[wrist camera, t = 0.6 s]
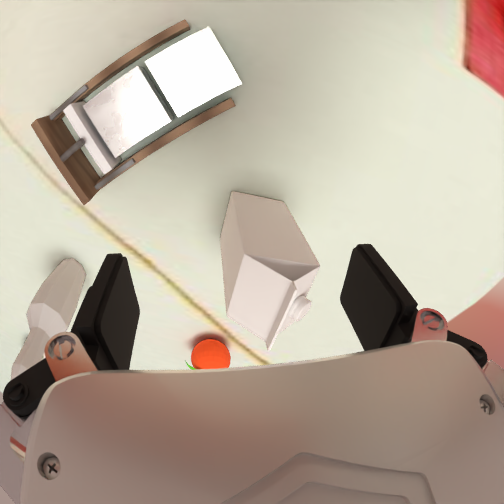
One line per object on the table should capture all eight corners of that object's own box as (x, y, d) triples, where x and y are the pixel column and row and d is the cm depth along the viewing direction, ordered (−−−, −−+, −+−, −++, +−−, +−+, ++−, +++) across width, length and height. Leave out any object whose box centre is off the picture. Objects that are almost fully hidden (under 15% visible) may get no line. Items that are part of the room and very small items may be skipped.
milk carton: (219, 238, 40) (229, 348, 24) (231, 190, 36) (250, 284, 21) (268, 246, 42) (304, 352, 26) (284, 200, 38) (337, 294, 22)
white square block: (144, 67, 27) (137, 65, 24) (175, 117, 31) (171, 121, 28) (93, 103, 28) (82, 106, 25) (123, 151, 32) (115, 158, 29)
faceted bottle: (49, 263, 38) (-11, 373, 20) (72, 246, 37) (8, 364, 19) (72, 291, 41) (28, 404, 23) (97, 277, 41) (53, 399, 22)
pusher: (84, 100, 27) (70, 103, 24) (121, 159, 32) (112, 169, 29) (77, 106, 27) (62, 110, 24) (114, 165, 32) (104, 174, 29)
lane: (186, 23, 24) (182, 11, 20) (234, 104, 31) (238, 107, 26) (52, 117, 27) (30, 125, 22) (99, 188, 33) (83, 205, 29)
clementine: (183, 352, 52) (182, 383, 46) (187, 328, 48) (186, 360, 42) (224, 356, 54) (227, 386, 48) (232, 333, 50) (236, 365, 44)
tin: (209, 32, 26) (209, 26, 23) (239, 84, 30) (242, 83, 27) (150, 63, 27) (144, 61, 24) (181, 114, 31) (178, 117, 28)
